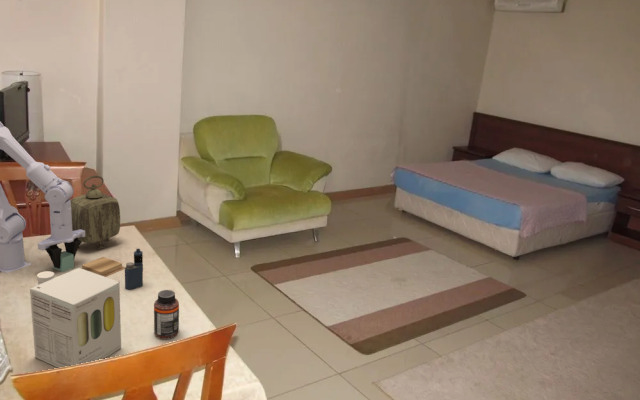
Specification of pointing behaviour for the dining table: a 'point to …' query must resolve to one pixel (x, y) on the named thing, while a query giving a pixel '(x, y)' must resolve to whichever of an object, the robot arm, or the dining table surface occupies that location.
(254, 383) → the dining table surface
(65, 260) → the block
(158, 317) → the supplement bottle
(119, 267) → the top slab
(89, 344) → the supplement box
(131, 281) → the vaping device
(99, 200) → the tabletop clock
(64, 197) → the robot arm
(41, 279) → the pill bottle
